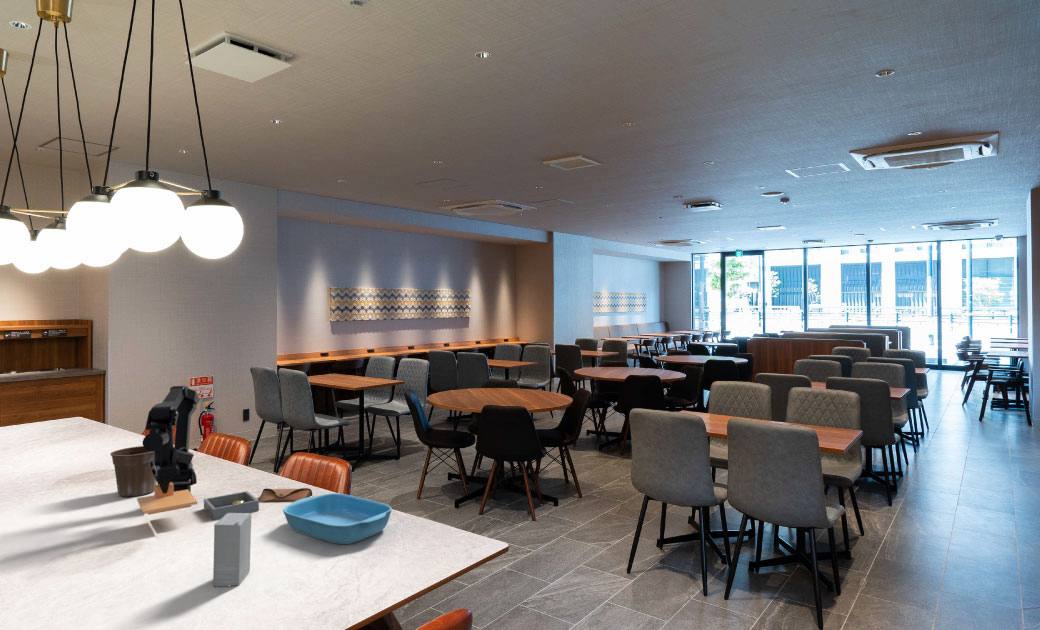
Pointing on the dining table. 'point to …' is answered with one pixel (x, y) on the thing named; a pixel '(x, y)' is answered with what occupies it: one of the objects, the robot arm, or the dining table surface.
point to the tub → (230, 504)
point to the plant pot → (133, 471)
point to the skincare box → (232, 549)
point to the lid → (166, 500)
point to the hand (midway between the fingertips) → (164, 492)
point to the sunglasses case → (284, 495)
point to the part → (238, 501)
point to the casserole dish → (337, 517)
